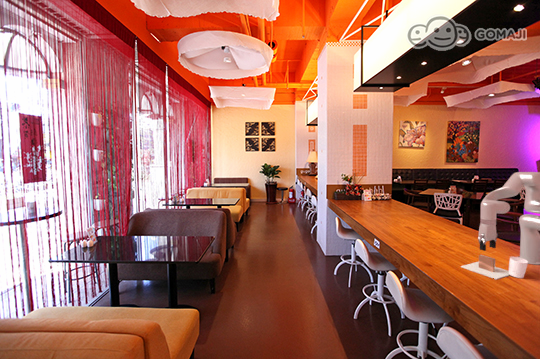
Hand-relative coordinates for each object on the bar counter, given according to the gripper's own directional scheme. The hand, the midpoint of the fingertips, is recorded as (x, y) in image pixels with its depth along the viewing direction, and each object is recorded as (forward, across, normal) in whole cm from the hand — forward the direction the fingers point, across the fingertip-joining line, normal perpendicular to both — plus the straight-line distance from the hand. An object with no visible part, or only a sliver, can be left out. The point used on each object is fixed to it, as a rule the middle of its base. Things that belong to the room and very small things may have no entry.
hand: (487, 248), depth 166 cm
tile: (+13, +1, 0) cm, 13 cm away
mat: (+14, 0, 0) cm, 14 cm away
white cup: (+14, -6, +12) cm, 19 cm away
